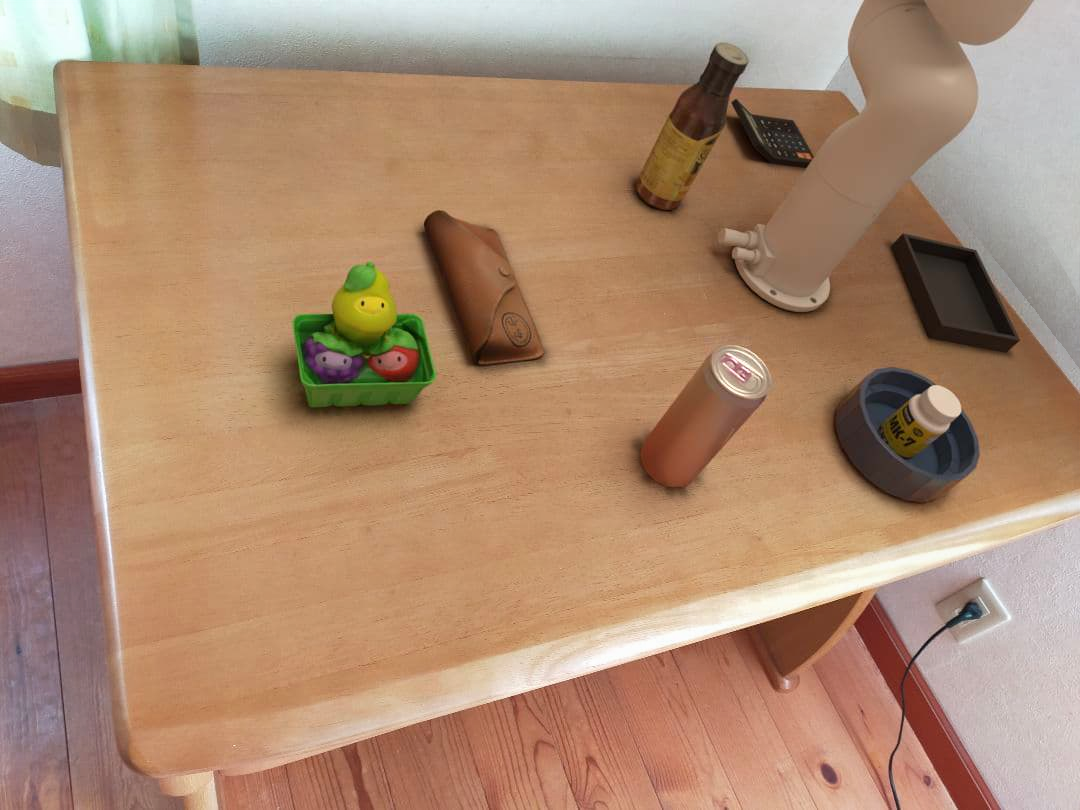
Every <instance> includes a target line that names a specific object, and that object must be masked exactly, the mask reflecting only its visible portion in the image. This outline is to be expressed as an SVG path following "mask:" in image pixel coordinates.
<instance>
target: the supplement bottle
mask: <svg viewBox="0 0 1080 810" xmlns="http://www.w3.org/2000/svg"><path fill="white" fill-rule="evenodd" d="M961 408H962V405H961V402H960V400H959V398H958V397H957V396H956V395H955V394H954V393H953V392H952V391H951V390H950V389H948V388H947V387H944V386H943V385H938V384H936V385H933V386H931V387H929V388H928V389H927V390H925V391H924V392H923V393H922V394H918V395H915V396H913V397H912V398H911V399H910V400H909V401H907V402H906V403H905V404H904V405H903V406H902V407H901V408H900V409H898V410H897V411H896V412H895V413H894V414H893V415H892V416H890V417H889V418H888V419H887V420H886V421H885V422H884V423H883V424H881V425H880V426H879V428H878V429H877V433H878V434H879V436H880V437H881V439H882V440H883V441H884V442H885V443H886V444H887V445H888V446H889V447H890V448H891V449H892V450H893V451H894V452H895V453H896V454H897V455H899V456H900V457H901V458H903V459H904V460H906V461H908V460H910V459H912V458H913V457H914V456H915V455H917V454H918V453H919V452H921V451H922V450H923V449H924V448H926V447H927V446H928V445H929V444H931V443H932V442H933V441H934V440H936V439H937V438H938V437H939V436H941V435H942V434H943V433H944V432H946V431H947V429H948V428H949V426H950V423H951V422H952V421H953V420H954V419H955V418H957V417H958V416H959V415H960V413H961Z"/></svg>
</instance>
